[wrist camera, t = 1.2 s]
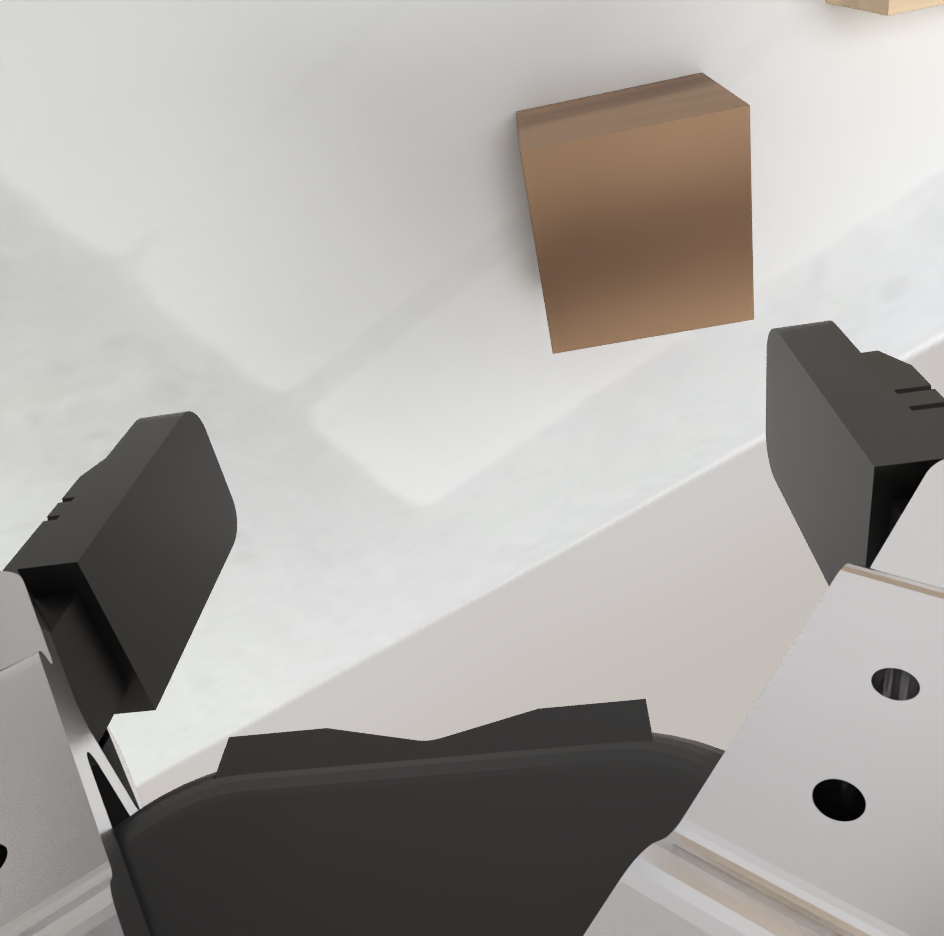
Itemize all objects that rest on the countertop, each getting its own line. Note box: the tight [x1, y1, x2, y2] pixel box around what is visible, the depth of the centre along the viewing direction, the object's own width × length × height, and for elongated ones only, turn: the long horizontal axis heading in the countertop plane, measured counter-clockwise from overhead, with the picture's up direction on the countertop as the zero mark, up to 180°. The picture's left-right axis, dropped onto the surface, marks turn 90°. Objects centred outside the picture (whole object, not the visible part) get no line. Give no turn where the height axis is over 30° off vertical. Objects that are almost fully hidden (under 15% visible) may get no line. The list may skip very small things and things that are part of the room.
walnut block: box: [516, 73, 754, 354], centre depth 26 cm, size 6×6×6 cm
